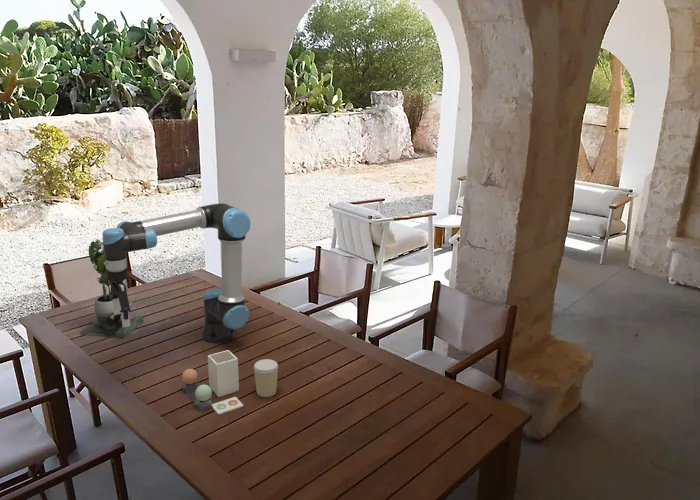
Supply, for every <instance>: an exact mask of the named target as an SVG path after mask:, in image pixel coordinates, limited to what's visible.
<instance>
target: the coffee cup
mask: <svg viewBox="0 0 700 500" xmlns="http://www.w3.org/2000/svg"><path fill="white" fill-rule="evenodd" d="M253 370H254V381H255V389H256V390H255V391H256V393H257V394H256V395H257V396H259V397H262V398H269V397H273V396H274V395H276V393H277V387H278V372H279V371H278V370H279V364H278V362H277V361H275V360H274V359H266V358H264V359H260V360H258V361H257V362H255V363H254V364H253Z"/></svg>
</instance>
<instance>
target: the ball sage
mask: <svg viewBox="0 0 700 500" xmlns="http://www.w3.org/2000/svg"><path fill="white" fill-rule="evenodd" d="M195 395H196V398H197V399H198V400H200V401H206V400H208V399H209V398H211V397H212V396H213V391H212V390H211V388H210V387H209V385H207V384H201V385H198V388H197V389H196V392H195Z"/></svg>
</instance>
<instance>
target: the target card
mask: <svg viewBox="0 0 700 500" xmlns="http://www.w3.org/2000/svg"><path fill="white" fill-rule="evenodd" d="M243 407H245V406H244V404H243V403H242V402H241V401H240V400H239V398H238V397H236V396H232V397H231V398H228V399H227V398H226V399H224V400H221V401H218V402H214V403H212V407H211V408H212V409H213V410H214V412H215V413H216V414H217V415H223V414H226V413H228V412H231V411H234V410H237V409H240V408H243Z"/></svg>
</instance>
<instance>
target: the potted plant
mask: <svg viewBox="0 0 700 500" xmlns="http://www.w3.org/2000/svg"><path fill="white" fill-rule="evenodd" d="M88 256H89V260H90V262H91V264H92V266H93V268H94V270H95V271H96V272H97V273H98V274H99V275H100V277H96V281H97V282H98V283H99V284H101V285H102V294H103V295H99V296H97V297H96V298H95V299H94V313H95V318H96V320H95V321H93V322H92V323H90V324H89V325H87V327H85V328H83V329H81V331H80V332H79V333H80V335H82V334H85V336H95V337H103V336H104V338H115V339H125V338H126V337H127V336H129V335H130V334H131V333H133V332H134V331H135V330H136V329H137V328H138V327H139V326H141V325H142V324H143V323H144V316H141V314H140V315H138V314H135V315H134V316H133V317H132V318H131V317H130V326H128V327H123V326H122V317H121V314H116V315H114V310H113V301H112V296H111V295H110V294H111V281H109V280H108V279H107V274H106V271H107V269H106V265H104V262H106V261H105V255H104V247H103V242H102V241H101V240H100V239H98V238H97V239H96V240H94V241H93V240H92V241H91V242H90V245H89V246H88ZM107 291H108V294H107ZM132 304H133V301H132V302H130V303H129V306H132ZM134 309H135V307H132V308H131V310H132V311H133V310H134Z"/></svg>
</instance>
